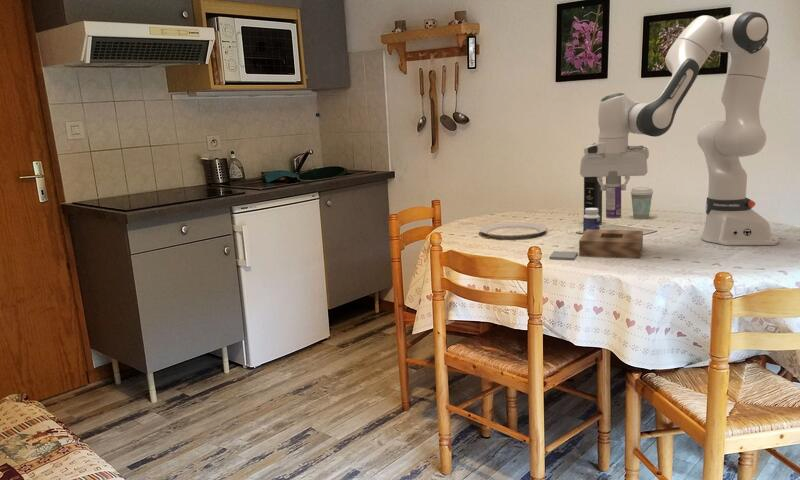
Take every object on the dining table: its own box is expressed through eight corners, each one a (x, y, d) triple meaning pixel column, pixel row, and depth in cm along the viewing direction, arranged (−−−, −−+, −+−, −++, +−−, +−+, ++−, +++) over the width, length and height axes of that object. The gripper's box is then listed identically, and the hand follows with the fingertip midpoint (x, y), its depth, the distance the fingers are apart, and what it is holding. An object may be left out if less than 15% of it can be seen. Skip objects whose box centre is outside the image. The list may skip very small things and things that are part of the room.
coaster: (577, 254, 200) (577, 252, 200) (574, 260, 194) (574, 257, 194) (553, 253, 203) (553, 251, 203) (549, 259, 197) (549, 256, 197)
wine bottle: (596, 226, 242) (596, 148, 236) (582, 225, 246) (583, 148, 239) (602, 223, 246) (603, 147, 240) (589, 222, 250) (590, 147, 243)
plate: (554, 238, 226) (554, 233, 226) (484, 242, 226) (484, 237, 226) (538, 225, 251) (538, 220, 251) (475, 228, 251) (475, 224, 251)
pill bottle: (600, 237, 223) (600, 209, 221) (583, 237, 224) (583, 210, 222) (598, 233, 228) (598, 207, 226) (582, 234, 230) (582, 207, 227)
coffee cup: (625, 217, 256) (626, 188, 253) (642, 215, 258) (643, 186, 256) (639, 220, 248) (639, 190, 245) (657, 218, 250) (658, 188, 248)
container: (618, 215, 203) (618, 169, 200) (623, 217, 199) (623, 170, 196) (603, 216, 203) (603, 170, 200) (608, 219, 199) (608, 172, 196)
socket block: (642, 245, 207) (642, 230, 206) (639, 258, 191) (639, 242, 190) (586, 243, 215) (586, 229, 214) (579, 255, 199) (579, 240, 198)
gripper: (649, 144, 195) (648, 188, 198) (581, 147, 203) (582, 189, 206) (648, 146, 189) (647, 191, 192) (578, 149, 197) (579, 192, 200)
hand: (613, 190), depth 199 cm, fingers closed on container, 5 cm apart
